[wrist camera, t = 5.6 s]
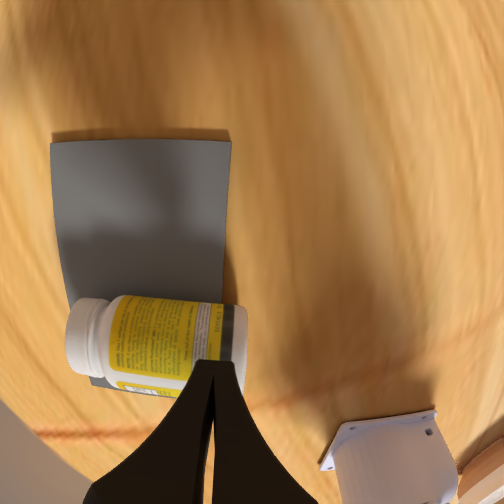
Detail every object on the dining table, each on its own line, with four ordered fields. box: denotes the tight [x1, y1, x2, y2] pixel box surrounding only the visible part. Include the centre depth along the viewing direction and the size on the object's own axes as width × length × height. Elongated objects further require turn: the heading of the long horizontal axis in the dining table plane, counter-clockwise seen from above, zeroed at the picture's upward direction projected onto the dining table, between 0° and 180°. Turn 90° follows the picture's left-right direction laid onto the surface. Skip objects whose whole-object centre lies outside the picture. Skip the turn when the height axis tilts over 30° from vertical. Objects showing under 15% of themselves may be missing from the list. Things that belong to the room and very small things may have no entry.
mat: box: [50, 139, 232, 398], centre depth 16 cm, size 9×16×1 cm, turn 175°
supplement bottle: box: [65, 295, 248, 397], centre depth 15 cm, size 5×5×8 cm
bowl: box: [457, 437, 504, 504], centre depth 27 cm, size 16×16×8 cm
